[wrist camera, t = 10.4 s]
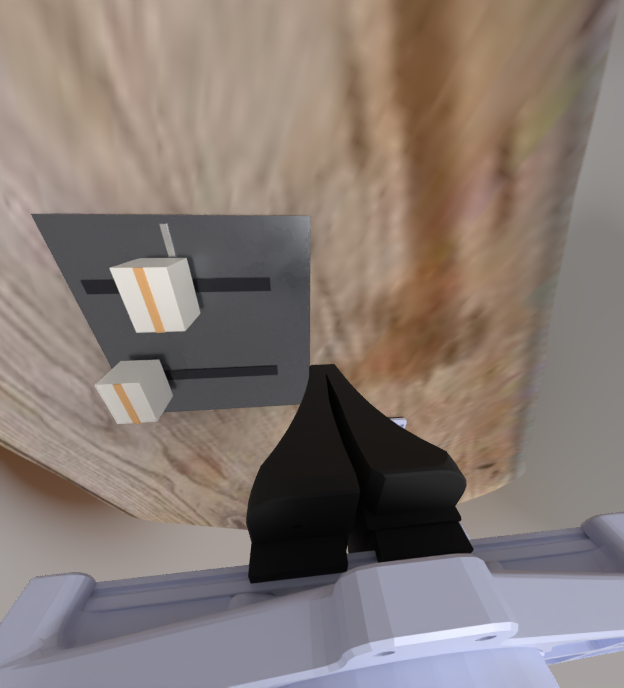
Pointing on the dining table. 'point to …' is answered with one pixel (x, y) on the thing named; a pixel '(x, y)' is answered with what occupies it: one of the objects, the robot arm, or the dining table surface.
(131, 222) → the fader console
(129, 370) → the fader far
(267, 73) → the dining table surface
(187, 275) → the fader near
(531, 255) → the dining table surface
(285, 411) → the dining table surface
